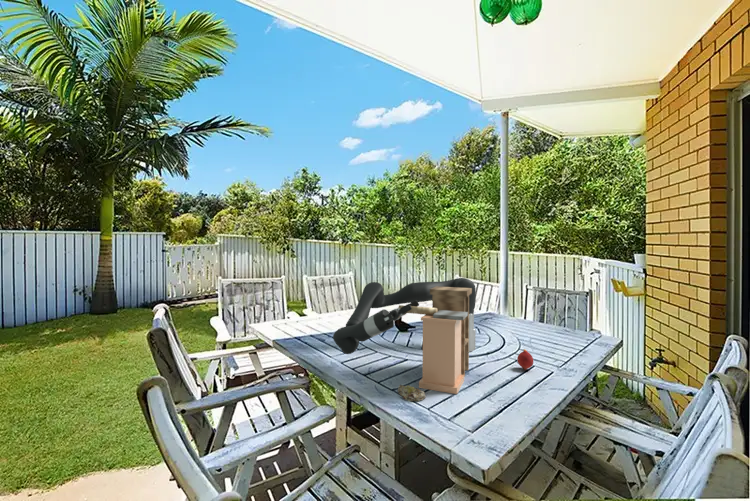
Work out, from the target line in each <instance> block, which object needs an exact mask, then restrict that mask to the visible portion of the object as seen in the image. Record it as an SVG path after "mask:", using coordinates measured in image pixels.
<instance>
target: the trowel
mask: <svg viewBox="0 0 750 501" xmlns="http://www.w3.org/2000/svg"><path fill="white" fill-rule="evenodd" d="M403 306H404V305H403V304H398V306H397V308H402V307H403ZM411 307H412V309H411V310H409V311H408V312H406V314H413V315H414V314H416V315H433V318H442V319H453V320H464V319H465V318H466V317H467V316H468V312H461V311H448V310H439V311H438V310H437V308H432V307H430V306H429V307H427V306H411Z"/></svg>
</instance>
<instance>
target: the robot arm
mask: <svg viewBox="0 0 750 501" xmlns="http://www.w3.org/2000/svg"><path fill="white" fill-rule="evenodd" d="M436 286H439V287H459V288H472V293H471V294H470V295H469V353H470V352H473V351H474V350H476V335H477V334H476V331H477V330H476V328H475V308H476V298H477V296H476V294H477V293H476V291H477V289H476V284H475V282H473V281H472V280H470V279H469V278H465V277H458V278H453V279H449V280H442V281H421V282H420V281H419V282H418V281H417V282H411V283H408V284H406V285H404V286H403V287H402V288H400V289H399V290H397V291H395V292H393V293H390V294H385V293H384V287H383V285H382V284H381V283H380V282H378V281H377V282H376V281H373V282H368V283H366V285H365V286H364V288H363V291H362V293H361V296H360V299H359V301H358V303H357V304H356V307H355V308H354V311H353V313H352V314H351V315H350V317H349V318H348V320H347V321H346V323H345V326H342V327H340V328H338V329H337V330H335V332H333V336H332V340H333V342H334V343H335V344H336V345H337V347H338V348H339V349H340V350H341V351H342V353H344V354H345V355H351V354H353V353H354V352H356V350H357V349H358V347H359V344H360V342H362V343H363V342H365V341H368V340H369V339H372V338H373V337H376V336H379V335H381V334H382V333H384V332H387V331H389V330H391V329H392V328H394V326H395V321H397V320H399V319H401V318H402V317H404V316H406V315H407V313H406V312H408V311H409V310H411V309H412V307H411V306H417V307H420V303H424V302H429V301H432V294H430V289H432V288H434V287H436ZM403 304H405V305H403ZM396 305H403V307H402V308H398V307H397V308H394V309H392V310H388V309H383V308H386V307H390V306H396ZM380 308H382V310H380V311H378V312H376V313H374V314H372V315H371V316H370V314H371V313H370V312H371V309H380Z"/></svg>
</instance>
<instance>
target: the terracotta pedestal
mask: <svg viewBox="0 0 750 501" xmlns="http://www.w3.org/2000/svg"><path fill="white" fill-rule="evenodd" d="M420 321H421V322H422V377H421V379H420V380H419V381H418V389H424V390H432V391H436V392H441V393H449V394H455V395H458V394H459V392H460V390H461V387H462V385H463V384H464V382H465V377H464V375H461V320H453V319H442V318H433V315H425V314H423V315H422V316H421V317H420Z"/></svg>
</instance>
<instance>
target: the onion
mask: <svg viewBox="0 0 750 501" xmlns="http://www.w3.org/2000/svg"><path fill="white" fill-rule="evenodd" d="M516 360H517V363H518V365H519V366H520V367H521V368H522V369H523V370H525V371H526V370H529V369H530V368H531V367H533V365H534V358H533V355H532V353H530V352H529V351H527V349H525V348H524V349H523V351H521V352H520V353H519V354H518V355H517V359H516Z"/></svg>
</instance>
